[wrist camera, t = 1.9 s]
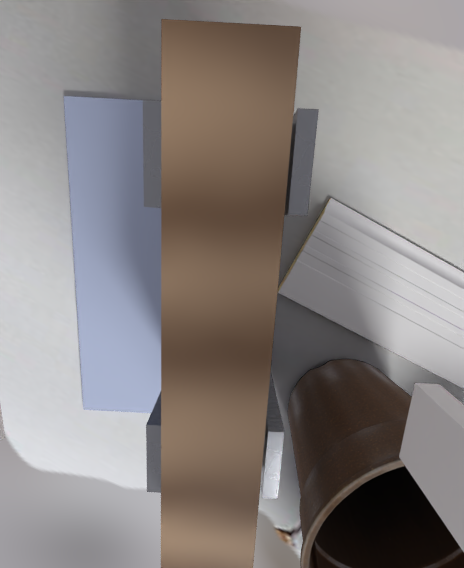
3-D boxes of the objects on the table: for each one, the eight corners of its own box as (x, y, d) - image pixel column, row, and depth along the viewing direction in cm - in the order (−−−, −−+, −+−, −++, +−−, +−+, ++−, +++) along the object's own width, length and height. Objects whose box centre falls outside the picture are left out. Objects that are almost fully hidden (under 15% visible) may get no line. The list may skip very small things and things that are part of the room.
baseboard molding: (336, 184, 30) (275, 289, 32) (346, 181, 27) (279, 296, 29) (581, 323, 32) (508, 409, 35) (614, 334, 30) (532, 427, 32)
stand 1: (273, 215, 30) (307, 215, 16) (187, 211, 30) (143, 206, 16) (277, 162, 29) (318, 109, 14) (188, 157, 29) (142, 100, 14)
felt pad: (172, 410, 35) (171, 414, 34) (86, 406, 35) (83, 409, 34) (175, 104, 28) (174, 102, 27) (67, 98, 28) (63, 95, 27)
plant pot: (431, 350, 33) (613, 474, 17) (393, 473, 36) (515, 670, 21) (284, 330, 32) (331, 437, 17) (260, 456, 36) (280, 643, 20)
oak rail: (247, 483, 22) (251, 577, 16) (180, 479, 22) (161, 573, 16) (277, 93, 17) (301, 26, 11) (187, 88, 17) (161, 19, 11)
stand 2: (259, 380, 34) (277, 498, 20) (184, 376, 34) (147, 491, 20) (263, 338, 33) (284, 432, 18) (185, 334, 33) (146, 424, 18)
